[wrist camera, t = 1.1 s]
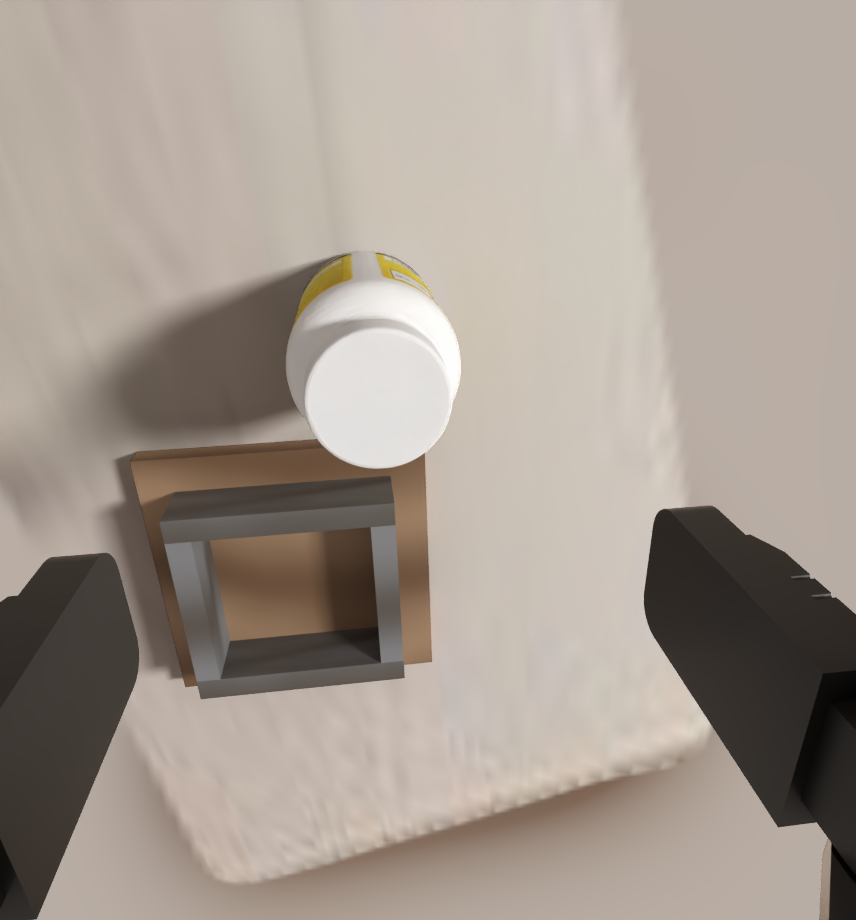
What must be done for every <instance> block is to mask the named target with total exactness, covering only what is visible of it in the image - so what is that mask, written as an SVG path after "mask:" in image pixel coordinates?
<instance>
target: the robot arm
mask: <svg viewBox="0 0 856 920" xmlns="http://www.w3.org/2000/svg"><path fill="white" fill-rule="evenodd" d="M644 608H645V614H646V619H647V622H648V625H649V628H650V630H651V632H652V634H653V636H654V638H655V639H656V641H657V642H658V644H659V645H660V647H661V648H662V650H663V652H664V653H665V655H666V656H667V658H668V659H669V661H670V662H671V664H672V665H673V667H674V668H675V670H676V671H677V673H678V674H679V676H680V678H681V679H682V681H683V682H684V684H685V685H686V687H687V688H688V690H689V691H690V693H691V694H692V696H693V697H694V699H695V701H696V702H697V704H698V705H699V707H700V708H701V710H702V711H703V713H704V714H705V716H706V717H707V719H708V720H709V722H710V724H711V725H712V727H713V728H714V730H715V731H716V733H717V734H718V736H719V737H720V739H721V740H722V742H723V743H724V745H725V747H726V748H727V750H728V751H729V753H730V754H731V756H732V757H733V759H734V760H735V762H736V763H737V765H738V766H739V768H740V769H741V771H742V773H743V774H744V776H745V777H746V779H747V780H748V782H749V783H750V785H751V786H752V788H753V789H754V791H755V792H756V794H757V795H758V797H759V799H760V800H761V802H762V803H763V804H764V806H765V808H766V809H767V811H768V812H769V814H770V815H771V817H772V818H773V820H774V822H775V823H776V824H777V826H778V827H784V826H791V825H799V824H807V823H815V822H817V823H818V825H819V826H820V827H821V828H822V830H823V831H824V833H825V834H826V835H827V837H828V839H827V842H826V845H825V848H824V851H823V857H822V871H821V894H820V915H819V920H856V614H855V613H853V612H852V611H851V610H850V609H849V608H848V607H847V606H845V605H844V604H843V603H842V602H841V601H840V600H839V599H837V598H832V597H831V592H829V591H828V590H827V589H826V588H825V587H824V586H823V585H821V584H820V583H819V582H818V581H817V580H816V579H810V574H809V573H808V572H807V571H806V570H804V569H803V568H802V567H801V566H800V565H799V564H797V563H796V562H795V561H794V560H793V559H792V558H791V557H789V556H788V555H787V554H786V553H785V552H783V551H781V550H779V549H777V548H776V547H773V546H771V545H770V544H768V543H766V542H764V541H762V540H760V539H758V538H756V537H754V536H752V535H745V534H744V533H743V532H742V531H741V530H740V529H738V528H737V527H736V526H735V525H734V524H733V523H732V522H731V521H730V520H729V519H728V518H726V517H725V516H724V515H723V514H722V513H721V512H720V511H719V510H718V509H716V508H715V507H713V506H697V507H685V508H673V509H663V510H661V511H659V512H658V514H657V515H656V517H655V520H654V525H653V531H652V539H651V546H650V554H649V561H648V568H647V576H646V583H645V591H644ZM138 666H139V647H138V641H137V636H136V633H135V629H134V625H133V622H132V618H131V614H130V610H129V607H128V603H127V599H126V596H125V592H124V588H123V585H122V581H121V577H120V573H119V570H118V567H117V564H116V562H115V560H114V558H113V557H112V556H111V555H110V554H108V553H99V554H86V555H74V556H61V557H52V558H49V559H47V560H46V561H45V562H44V563H43V564H42V565H41V567H40V568H39V569H38V571H37V572H36V573H35V575H34V576H33V577H32V578H31V580H30V581H29V582H28V584H27V585H26V586H25V587H24V589H23V590H22V591H21V593H20V594H19V595H18V596H11V597H7V598H6V599H4V600H3V601H1V602H0V920H34V919H37V917H38V915H39V912H40V910H41V908H42V905H43V903H44V900H45V898H46V895H47V893H48V891H49V889H50V886H51V884H52V881H53V879H54V877H55V874H56V872H57V869H58V867H59V865H60V862H61V859H62V857H63V855H64V853H65V850H66V848H67V845H68V843H69V841H70V838H71V836H72V833H73V831H74V829H75V826H76V824H77V822H78V819H79V817H80V814H81V812H82V809H83V807H84V805H85V802H86V800H87V798H88V795H89V793H90V790H91V788H92V786H93V783H94V781H95V778H96V776H97V774H98V771H99V769H100V766H101V764H102V762H103V759H104V757H105V755H106V752H107V750H108V747H109V745H110V742H111V740H112V738H113V735H114V733H115V731H116V728H117V726H118V723H119V721H120V719H121V716H122V714H123V711H124V709H125V707H126V704H127V702H128V700H129V697H130V695H131V692H132V690H133V688H134V685H135V682H136V678H137V673H138Z"/></svg>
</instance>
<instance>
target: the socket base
mask: <svg viewBox="0 0 856 920" xmlns="http://www.w3.org/2000/svg"><path fill="white" fill-rule="evenodd" d="M130 465H131V469H132V473H133V477H134V481H135V485H136V489H137V493H138V497H139V501H140V505H141V509H142V513H143V517H144V521H145V525H146V530H147V534H148V538H149V542H150V546H151V550H152V554H153V558H154V562H155V566H156V570H157V574H158V578H159V582H160V586H161V590H162V594H163V598H164V602H165V606H166V611H167V615H168V619H169V623H170V627H171V631H172V635H173V639H174V643H175V647H176V651H177V655H178V659H179V663H180V667H181V671H182V675H183V679H184V683H185V687H190V686H198V689H199V693H200V697H201V699H207V698H217V697H226V696H236V695H245V694H255V693H265V692H274V691H284V690H294V689H303V688H313V687H323V686H332V685H342V684H352V683H361V682H371V681H380V680H390V679H400V678H405V677H404V665H406V664H416V663H426V662H432V650H431V622H430V593H429V564H428V536H427V507H426V478H425V453H424V454H422V455H421V456H420V457H418V458H416V459H414V460H413V461H410V462H408V463H406V464H403V465H400V466H396V467H391V468H381V469H373V468H365V467H359V466H356V465H352V464H350V463H347V462H345V461H343V460H341V459H339V458H337V457H336V456H334V455H333V454H332V453H330V452H329V451H328V450H327V449H326V448H325V447H323V446H322V445H321V443H320V442H319V441H318V440H302V441H288V442H274V443H259V444H245V445H231V446H216V447H202V448H188V449H173V450H159V451H145V452H137V453H136V454H135V456H134V457H133V458H132V460H131V461H130Z"/></svg>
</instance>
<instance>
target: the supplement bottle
mask: <svg viewBox="0 0 856 920" xmlns="http://www.w3.org/2000/svg"><path fill="white" fill-rule="evenodd" d="M286 374H287V381H288V385H289V388H290V392H291V395H292V398H293V400H294V402H295V404H296V406H297V408H298V409H299V411H300V413H301V414H302V415H303V417H304V418H305V419H306V420H307V422H308V424H309V426H310V429H311V430H312V432H313V434H314V435H315V437H316V438H317V440H318V441H319V442H320V443H321V445H322V446H323V447H325V448H326V449H327V450H328V451H329V452H330V453H332V454H333V455H334V456H336V457H337V458H339V459H341V460H343V461H345V462H347V463H350V464H352V465H356V466H359V467H365V468H373V469H381V468H391V467H396V466H400V465H403V464H406V463H408V462H410V461H413V460H414V459H416V458H418V457H420V456H421V455H422V454H424V453H425V452H427V451H428V450H429V449H430V448H431V447H432V446H433V445H434V444H435V443H436V442H437V440H438V439H439V438H440V436H441V435H442V433H443V431H444V430H445V428H446V426H447V423H448V421H449V417H450V414H451V410H452V403H453V400H454V398H455V396H456V393H457V390H458V387H459V382H460V375H461V359H460V351H459V345H458V341H457V338H456V335H455V333H454V330H453V328H452V326H451V324H450V322H449V320H448V318H447V317H446V315H445V313H444V312H443V310H442V309H441V307H440V306H439V304H438V303H437V301H436V300H435V298H434V297H433V295H432V293H431V292H430V290H429V289H428V287H427V286H426V284H425V283H424V281H423V280H422V279H421V277H420V276H419V275H418V274H417V273H416V272H415V271H414V270H413V269H412V268H411V267H409V266H408V265H407V264H405V263H404V262H402V261H401V260H399V259H397V258H395V257H393V256H390V255H388V254H385V253H381V252H375V251H355V252H351V253H347V254H344V255H341V256H339V257H336V258H334V259H333V260H331V261H329V262H328V263H326V264H325V265H324V266H322V267H321V268H320V269H319V270H318V271H317V272H316V273H315V274H314V276H313V277H312V278H311V280H310V281H309V283H308V284H307V286H306V288H305V290H304V292H303V295H302V297H301V300H300V303H299V307H298V311H297V315H296V318H295V321H294V325H293V328H292V331H291V334H290V337H289V341H288V345H287V352H286Z"/></svg>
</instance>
